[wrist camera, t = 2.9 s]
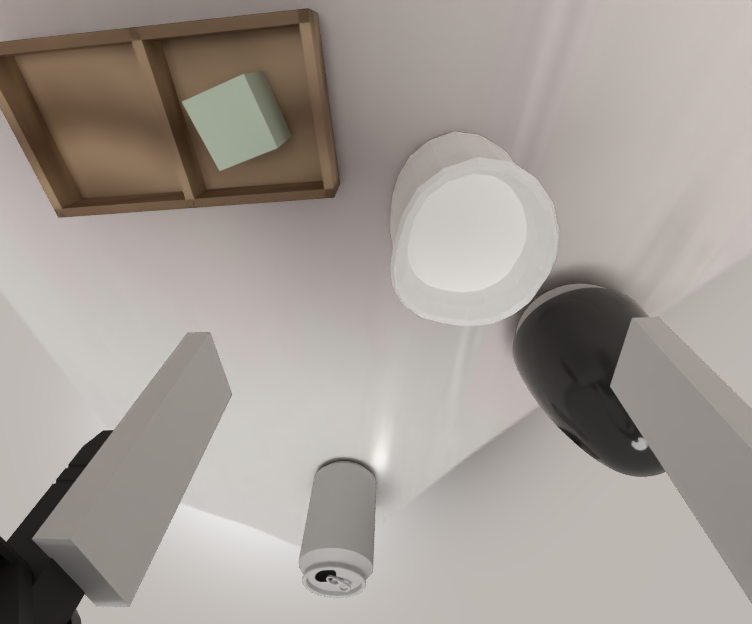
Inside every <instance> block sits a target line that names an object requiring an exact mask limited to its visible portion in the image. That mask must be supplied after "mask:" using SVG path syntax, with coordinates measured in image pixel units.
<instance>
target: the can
mask: <svg viewBox="0 0 752 624" xmlns="http://www.w3.org/2000/svg"><path fill="white" fill-rule="evenodd" d="M375 505H376V480H375V477H374V476H373V475H372V474H371V473H370V472H369V471H368V470H367V469H366V468H365V467H364V466H362V465H360V464H358V463H355V462H351V461H337V462H333V463H330V464H328V465H327V466H325V467H323V468H321V469H320V470H319V471H318V472H317V473H316V475H315V477H314V482H313V487H312V493H311V498H310V503H309V509H308V514H307V520H306V525H305V530H304V536H303V541H302V547H301V552H300V558H299V568H300V569H301V571H302V573H303V574H304V576H303V577H302V583H303V584H304V586H305V587H306V588H307V589H308V590H309V591H311V592H312V593H315V594H317V595H320V596H324V597H329V598H347V597H351V596H355V595H357V594H359V593H361V592H362V591H363V590H364V589H365V587H366V581H365V580H366V579H367V578H368V577H369V576H370V575H371V574H372V571H373V555H374V531H375Z"/></svg>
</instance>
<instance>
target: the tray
mask: <svg viewBox="0 0 752 624" xmlns="http://www.w3.org/2000/svg"><path fill="white" fill-rule="evenodd" d="M259 71H264V73H265V75H266V78H267V80H268V82H269V84H270V87H271V89H272V91H273V94H274V96H275V98H276V100H277V103H278V105H279V107H280V110H281V112H282V114H283V117H284V119H285V121H286V123H287V126H288V128H289V130H290V133H291V135H292V136H291V137H290V138H289V139H288V140H287V141H286V142H284V143H283V144H282V145H281V146H280V147H278V148H277V149H274V150H272V151H269V152H267V153H264V154H262V155H259V156H257V157H254V158H252V159H249V160H246V161H244V162H241V163H239V164H236V165H234V166H231V167H229V168H226V169H224V170H221V171H219V169H218V167H217V166H216V164H215V162H214V160H213V158H212V156H211V155H210V153H209V151H208V149H207V147H206V146H205V144H204V142H203V140H202V138H201V136H200V135H199V133H198V131H197V129H196V127H195V125H194V124H193V122H192V120H191V118H190V116H189V115H188V113H187V111H186V109H185V107H184V105H183V104H182V101H185V100H187V99H189V98H191V97H193V96H196V95H198V94H200V93H202V92H205V91H207V90H209V89H211V88H213V87H216V86H218V85H220V84H222V83H225V82H227V81H229V80H231V79H233V78H236V77H238V76H240V75H242V74H246V73H253V72H259ZM0 108H1V110H2V112H3V114H4V116H5V118H6V119H7V121H8V123H9V125H10V127H11V129H12V131H13V133H14V135H15V136H16V138H17V140H18V142H19V144H20V146H21V148H22V150H23V152H24V153H25V155H26V157H27V159H28V161H29V163H30V165H31V167H32V169H33V170H34V172H35V174H36V176H37V178H38V180H39V182H40V184H41V186H42V187H43V189H44V191H45V193H46V195H47V197H48V199H49V201H50V203H51V204H52V206H53V208H54V210H55V212H56V214H57V216H58V218H59V217H73V216H87V215H101V214H114V213H128V212H142V211H156V210H169V209H183V208H197V207H211V206H224V205H238V204H252V203H265V202H279V201H293V200H307V199H320V198H334V197H335V195H336V193H337V190H338V188H339V185H340V182H339V174H338V166H337V159H336V151H335V143H334V136H333V128H332V120H331V113H330V105H329V97H328V90H327V82H326V75H325V67H324V59H323V52H322V44H321V36H320V29H319V21H318V13H316V12H314V11H312V10H310V9H308V8H307V9H298V10H289V11H280V12H270V13H261V14H252V15H243V16H234V17H225V18H215V19H206V20H197V21H188V22H179V23H169V24H160V25H151V26H142V27H133V28H123V29H114V30H105V31H96V32H87V33H77V34H68V35H59V36H50V37H41V38H32V39H22V40H13V41H4V42H0Z"/></svg>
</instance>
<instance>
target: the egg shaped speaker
mask: <svg viewBox="0 0 752 624" xmlns="http://www.w3.org/2000/svg"><path fill="white" fill-rule="evenodd" d="M641 317H649V316H648V315H647V313H646V312H645V311H644V310H643V309H642V308H641V307H640V306H639V305H638V304H637V303H636V302H635V301H634V300H633V299H632V298H630V297H629V296H627V295H626V294H624V293H621V292H619V291H616V290H612V289H608V288H604V287H601V286H597V285H591V284H570V285H564V286H561V287H557V288H555V289H552V290H550V291H548V292H546V293H544V294H543V295H541V296H540V297H538V298H537V299H536V300H534V301H533V302H532V303H531V304H530V305H529V306H528V308H527V309H526V310H525V312H524V313H523V315H522V317H521V319H520V321H519V323H518V326H517V330H516V336H515V339H514V343H513V357H514V361H515V364H516V367H517V369H518V371H519V374H520V376H521V378H522V379H523V381H524V383H525V384H526V386H527V388H528V389H529V391H530V392H531V394H532V396H533V397H534V398H535V400H536V401H537V403H538V404H539V406H540V407H541V408H542V409H543V411H544V412H545V413H546V414H547V415H548V417H549V418H550V419H551V420H552V421H553V422H554V423H555V424H556V425H557V426H558V428H559V429H561V430H562V432H564V433H565V434H566V435H567V436H568V437H569V438H570V439H571V440H572V441H573V442H574V443H576V444H577V445H578V446H579V447H580V448H581V449H583V450H584V451H585V452H586V453H588V454H589V455H590V456H592V457H593V458H594V459H596V460H597V461H599V462H601V463H602V464H604V465H606V466H607V467H609V468H611V469H613V470H615V471H617V472H620V473H622V474H625V475H630V476H637V477H647V476H654V475H658V474H661V473H664V472H666V471H665V470H664V468H663V467H662V465H661V464H660V462H659V461H658V459H657V457H656V456H655V454H654V453H653V451H652V450H651V448H650V447H649V445H648V444H647V442H646V441H645V439H644V438H643V436H642V434H641V433H640V431H639V430H638V428H637V427H636V425H635V424H634V422H633V421H632V419H631V418H630V416H629V415H628V413H627V411H626V410H625V408H624V407H623V405H622V404H621V402H620V401H619V399H618V398H617V396H616V395H615V393H614V392H613V390H612V388H611V387H610V385H611V381H612V378H613V375H614V372H615V369H616V366H617V363H618V360H619V357H620V354H621V350H622V347H623V344H624V341H625V338H626V335H627V332H628V329H629V326H630V323H631V320H632V318H641Z"/></svg>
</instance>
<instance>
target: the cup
mask: <svg viewBox="0 0 752 624" xmlns="http://www.w3.org/2000/svg"><path fill="white" fill-rule="evenodd" d="M390 234H391V240H392V246H393V252H392V257H391V262H390V271H391V281H392V287H393V289H394V290H395V292H396V294H397V296H398V297H399V299H400V301H401V303H402V304H403V305H404V306H405V307H406V308H408V309H409V310H411V311H412V312H413V313H415V314H416V315H417V316H419V317H422V318H426V319H429V320H433V321H436V322H440V323H444V324H450V325H460V326H478V325H487V324H493V323H495V322H498V321H500V320H502V319H505V318H507V317H509V316H511V315H514V314H515V313H516V312H518V311H519V310H520V309H522V308H523V307H524V306H525V305H527V304H528V303H529V302H530V301H531V300H532V299H533V297H534V296H535V294H536V293H537V291H538V290H539V289H540V287H541V286H542V284H543V283H544V281H545V280H546V278H547V277H548V276H549V274H550V272H551V270H552V267H553V265H554V262H555V260H556V257H557V252H558V242H559V228H558V223H557V218H556V213H555V208H554V204H553V203H552V201H551V200H550V198H549V196H548V195H547V193H546V192H545V190H544V189H543V187H542V186H541V184H540V183H539V181H538V180H537V178H535V177H534V176H532V175H531V174H529V173H528V172H526V171H525V170H523V169H522V168H520V167H519V166H517V165H516V164H515V163H514V162H513V160H512V159H511V158H510V156H509V155H508V154H507V153H506V152H505V151H504V150H503V149H502V148H501V147H499V146H498V145H496V144H494V143H493V142H491V141H489V140H488V139H486V138H484V137H483V136H481V135H476V134H469V133H462V132H456V131H454V132H451V133H448V134H445V135H442V136H440V137H437V138H434V139H431V140H429V141H427V142H426V143H425V144H424V145H423V146H421V147H420V148H419V149H418V150H416V151H415V152H414V153H413V154H411V155H410V156H409V158H408V160H407V162H406V163H405V165H404V167H403V169H402V170H401V172H400V174H399V175H398V177H397V181H396V184H395V188H394V192H393V195H392V203H391V214H390Z"/></svg>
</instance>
